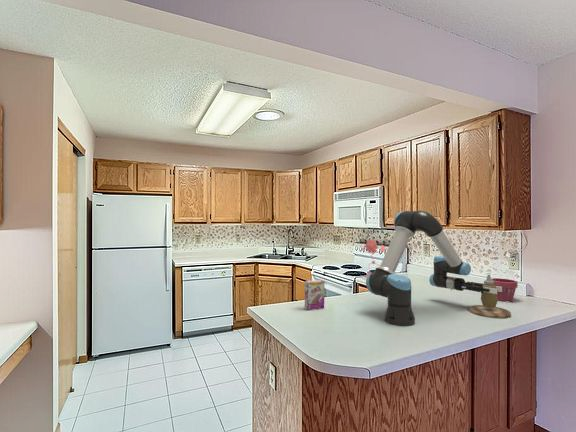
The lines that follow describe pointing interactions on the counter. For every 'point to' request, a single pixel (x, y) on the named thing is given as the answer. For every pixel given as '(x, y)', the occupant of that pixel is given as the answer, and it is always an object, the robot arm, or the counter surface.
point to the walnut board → (489, 311)
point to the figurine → (372, 250)
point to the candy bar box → (314, 294)
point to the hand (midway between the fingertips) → (499, 290)
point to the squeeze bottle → (489, 294)
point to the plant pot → (505, 288)
